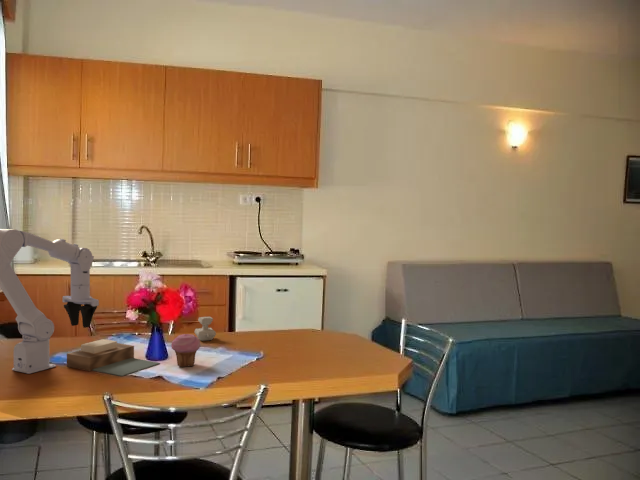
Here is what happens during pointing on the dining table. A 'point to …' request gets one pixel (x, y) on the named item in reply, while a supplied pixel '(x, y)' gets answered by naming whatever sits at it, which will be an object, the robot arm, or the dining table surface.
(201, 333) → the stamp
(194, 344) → the cupcake
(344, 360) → the dining table surface
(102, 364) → the panel
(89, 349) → the beige flat block
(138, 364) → the mat
